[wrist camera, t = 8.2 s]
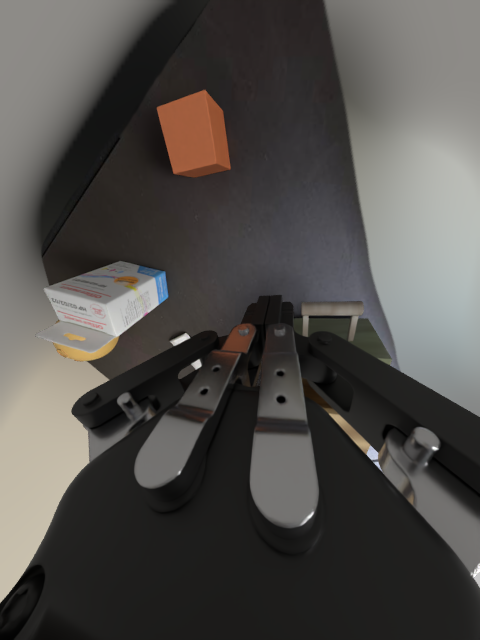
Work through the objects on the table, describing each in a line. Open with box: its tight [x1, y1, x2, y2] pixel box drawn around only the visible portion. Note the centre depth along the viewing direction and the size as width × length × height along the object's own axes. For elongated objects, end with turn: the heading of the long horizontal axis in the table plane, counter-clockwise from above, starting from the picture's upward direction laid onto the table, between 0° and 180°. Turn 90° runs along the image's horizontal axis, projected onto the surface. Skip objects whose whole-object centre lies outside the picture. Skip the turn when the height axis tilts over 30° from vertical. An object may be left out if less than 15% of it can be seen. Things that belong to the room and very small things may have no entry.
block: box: [157, 90, 231, 178], centre depth 18 cm, size 5×5×5 cm
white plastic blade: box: [170, 333, 202, 369], centre depth 39 cm, size 5×15×1 cm, turn 34°
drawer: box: [294, 301, 392, 409], centre depth 26 cm, size 20×11×8 cm, turn 8°
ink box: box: [35, 261, 168, 353], centre depth 26 cm, size 8×5×15 cm, turn 83°
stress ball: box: [53, 320, 119, 361], centre depth 36 cm, size 10×10×10 cm
